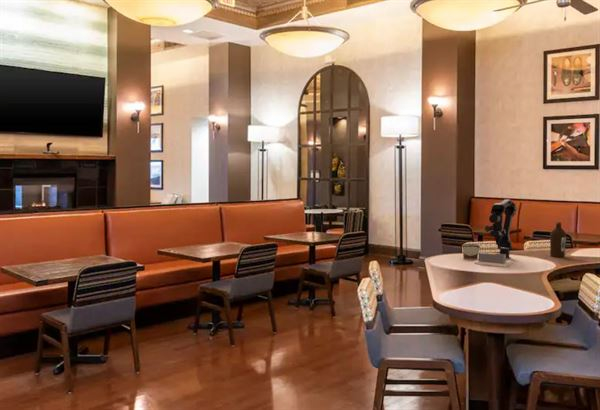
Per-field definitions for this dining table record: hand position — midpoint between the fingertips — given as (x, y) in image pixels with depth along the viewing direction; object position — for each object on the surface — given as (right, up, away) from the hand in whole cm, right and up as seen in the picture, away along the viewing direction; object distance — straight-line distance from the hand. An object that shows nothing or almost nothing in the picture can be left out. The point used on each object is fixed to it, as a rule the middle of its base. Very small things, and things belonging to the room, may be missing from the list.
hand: (497, 244), depth 384 cm
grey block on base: (-6, -12, -10) cm, 17 cm away
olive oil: (+52, -10, +23) cm, 58 cm away
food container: (-16, -10, +10) cm, 21 cm away
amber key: (-9, -8, -15) cm, 19 cm away
